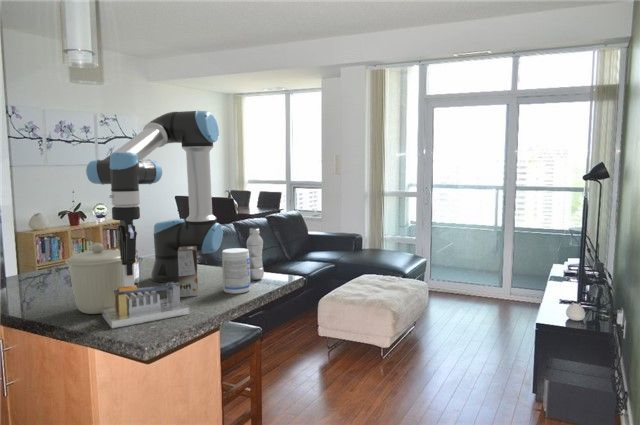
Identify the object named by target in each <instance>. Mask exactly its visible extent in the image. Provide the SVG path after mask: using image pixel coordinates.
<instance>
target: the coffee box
mask: <svg viewBox="0 0 640 425" xmlns="http://www.w3.org/2000/svg"><path fill="white" fill-rule="evenodd" d="M178 273H179V281H178V286H179V289H180V298H183V297H184V298H185V297H197V296H199V271H198V253H197V246H185V247H179V248H178Z"/></svg>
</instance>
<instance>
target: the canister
mask: <svg viewBox="0 0 640 425" xmlns="http://www.w3.org/2000/svg"><path fill="white" fill-rule="evenodd" d="M90 248H91V250H89V251H84V252H83V251H82V252H80V253H76V254H72V255H71V256H70V257H69V258H67V259H65V261H64V262H65V264H66V265H67V266H68V272H69V277H70V281H71V282H70V283H71V287H72V291H73V297H74V301H75V305H76V308H77V309H78V310H79V312H81V313H83V314H87V315H89V314H90V315H98V314H99V315H100V314H102V309H106V308H112V307H115V297H114V290H117V287H118V286H124V283H123V265H122V260H121V259H120V258H121V256H120V250H118V249H117V250H116V249H115V250H114V249H104V248H105V247H104V244H102V243H100V242H96V243H93V244H92V245H91V247H90Z"/></svg>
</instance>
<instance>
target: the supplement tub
mask: <svg viewBox="0 0 640 425" xmlns="http://www.w3.org/2000/svg"><path fill="white" fill-rule="evenodd" d="M221 253H222V254H221V260H222V261H221V266H222V268H221V270H222V284H223V285H222V286H223V287H222V288H223V290H222V291H223V292H225V293H226V294H231V295H233V294H235V295H237V294H243V293H248V292H249V291H250V290H251V279H250V262H249V250H248V249H247V248H243V247H241V248H240V247H239V248H238V247H236V248H235V247H234V248H226V249H223V250H222V251H221Z"/></svg>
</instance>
